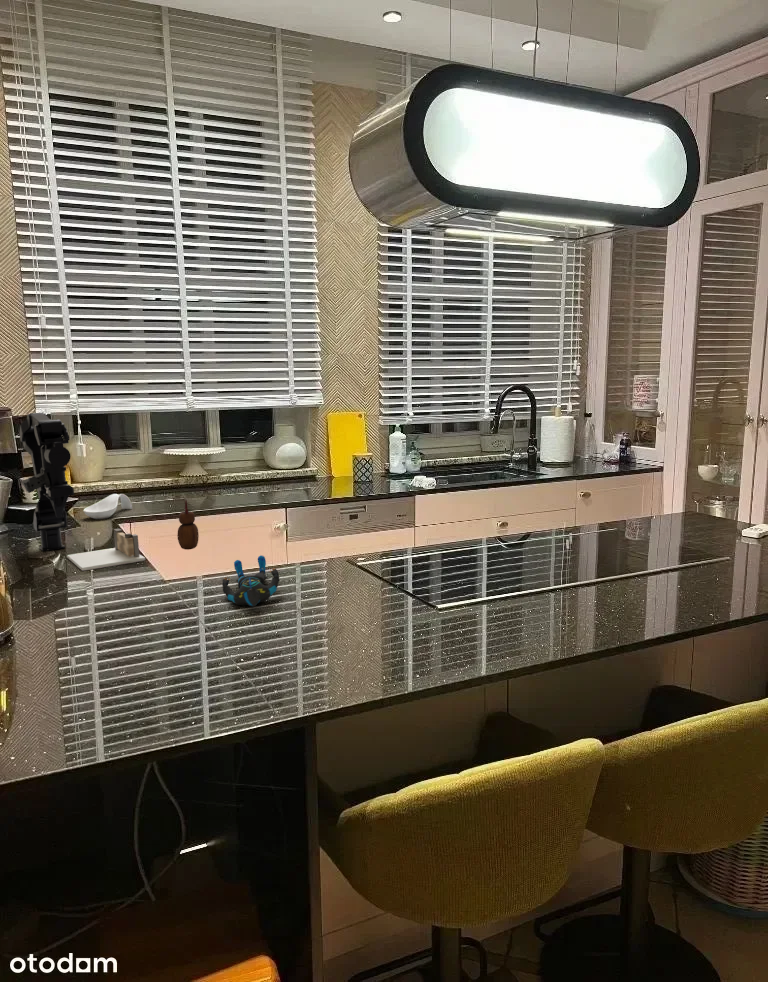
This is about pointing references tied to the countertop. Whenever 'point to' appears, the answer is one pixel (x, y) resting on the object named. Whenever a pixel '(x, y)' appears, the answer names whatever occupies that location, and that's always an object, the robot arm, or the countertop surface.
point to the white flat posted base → (106, 556)
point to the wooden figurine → (187, 530)
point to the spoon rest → (107, 506)
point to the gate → (125, 542)
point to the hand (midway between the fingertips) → (58, 517)
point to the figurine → (251, 585)
